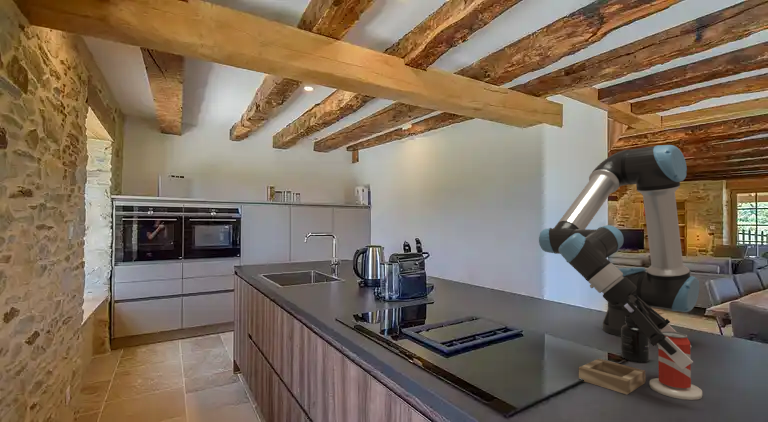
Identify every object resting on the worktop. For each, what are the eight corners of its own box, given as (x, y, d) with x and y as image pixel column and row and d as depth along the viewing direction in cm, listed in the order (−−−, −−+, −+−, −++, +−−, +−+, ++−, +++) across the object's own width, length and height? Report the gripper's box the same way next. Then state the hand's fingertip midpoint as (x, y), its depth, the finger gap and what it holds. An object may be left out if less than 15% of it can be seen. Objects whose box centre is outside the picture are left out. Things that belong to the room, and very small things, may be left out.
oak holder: (598, 369, 108) (598, 358, 108) (645, 382, 100) (645, 370, 100) (578, 379, 101) (578, 367, 101) (627, 394, 93) (627, 381, 93)
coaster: (658, 378, 102) (658, 374, 102) (707, 392, 94) (707, 387, 94) (643, 388, 96) (642, 384, 96) (694, 404, 88) (694, 399, 88)
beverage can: (698, 389, 93) (697, 336, 94) (676, 392, 92) (676, 338, 92) (672, 379, 99) (671, 329, 100) (652, 382, 97) (651, 331, 98)
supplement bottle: (653, 364, 113) (653, 320, 113) (626, 362, 114) (626, 319, 115) (643, 356, 120) (642, 315, 120) (617, 354, 121) (617, 313, 121)
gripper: (608, 288, 115) (673, 352, 106) (592, 302, 95) (672, 383, 85) (629, 271, 112) (699, 335, 103) (618, 281, 92) (704, 362, 82)
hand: (687, 357), depth 94 cm, fingers open, 13 cm apart
